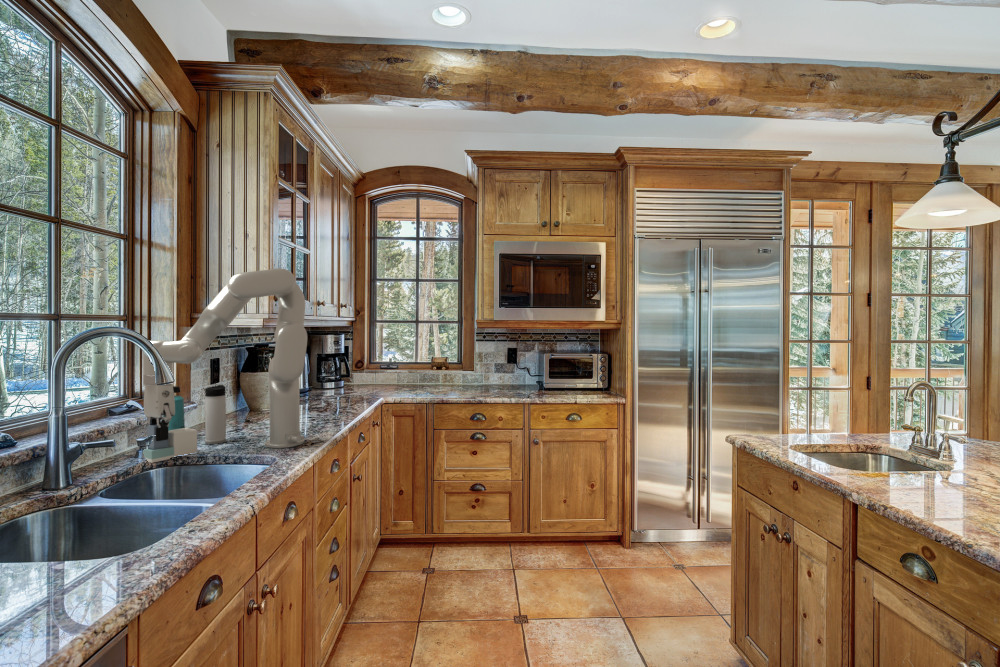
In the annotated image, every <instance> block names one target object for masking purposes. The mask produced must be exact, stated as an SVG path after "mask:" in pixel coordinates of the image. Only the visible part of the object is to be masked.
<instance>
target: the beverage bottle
mask: <svg viewBox="0 0 1000 667" xmlns="http://www.w3.org/2000/svg"><path fill="white" fill-rule="evenodd" d="M172 386H173V391H174V394H178V393H181V387H180V386H178V385H177V386H176V385H172ZM174 399H175V415H174V416H171V417H172V419H171V420H170V422H169V427H168V431H170V430H176V429H182V428H186V425H185V421H186V418H185V398H184V397H183V396H181V395H174ZM162 417H165V416H164V415H162ZM162 420H164V419H161V421H162Z"/></svg>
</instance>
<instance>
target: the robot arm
mask: <svg viewBox="0 0 1000 667" xmlns="http://www.w3.org/2000/svg"><path fill="white" fill-rule="evenodd" d="M270 296H275V297H276V299H277V301H278V310H277V311H278V312H277V319H276V320H277V321H276V326H275V331H274V336H273V337H274V340H275V345H274V346H275V347H274V354H273V357H272V358H271V359H270V361H269V364H268V382H269V383H268V386H269V439H268V440H267V441H264V446H265V447H266V448H269V449H286V448H293V447H297V446H301V445H303V444H304V443H305V439H306V438H305V435H302V431H301V429H300V426H301V425H300V423H301V422H300V420H301V419H300V417H301V415H300V413H301V412H300V410H301V409H300V407H301V406H300V403H301V402H300V399H301V398H300V395H301V394H300V380H299V379H300V377H301V375H302V374H303V371H304V366H305V361H306V354H307V347H308V333H307V332H308V331H307V330H306V328H305V327H304V326H305V325H304V324H305V317H306V316H305V314H306V299H305V295H304V293H303V290H302V289H301V287H300V286H299V284H297V282H296V276H294V274H293V272H292V271H290V270H288V269H286V268H281V267H280V268H278V267H277V268H271V269H270V268H269V269H262V270H255V271H246V272H245V271H244V272H239V273H236V274H233V275H232V276H231V278H230V279H229V281H227V283H226V284H225V285H224V286H223V288H222V289H221V290H220V291H219V292H218V293H217V294H216V295H215V297H214V298H213V299H212V300H211V301H210V302H209V303H208V305H207V306H206V307H205V308H204V310H203V311H202V312H201V315H200V316H199V318H198V319H197V321H196V322H195V323H194V324H193V326H191V328H190V329H189V330H188V331H187V333H186V334H185V335H184V336H183V337H182V338H181V339H179V340H174V341H173V340H171V341H170V340H167V339H166V340H165V339H164V340H159V339H158V340H155V339H154V340H153V339H151V340H149V341H150V342H151V343H152V344H153V346H154V347H155V348H156V349H157V350H158V351H159V353H160V354H161V356H162V357H163V359H164V361H165V362H166V363H167V365H168V366H169V368H170V370H171V372H172V374H173V375H174V364H184V365H185V364H193V363H196V361H197V360H198V359H199V358H200V357H201V356H202V354H203V353H204V352H205V350H206V349H208V347H209V346H210V345H211V344H212V342H213V341H214V340H215V339H216V338H217V337H218V336H219V335H220V334H221V332H223V331H224V330H225V329H227V327H229V325H230V324H231V323H232V322H233V320H234V319H235V318H236V317H237V316H238V315H239V313H241V311H243V309H244V308H245V307H246V306H247V304H248V303H249V302H250V301H251V300H252V299H254V298H256V299H257V298H262V297H270ZM142 386H143V387H144V391H143V392H144V393H143V414H144V415H145V417H146V418H147V426H148V425H155V424H157V428H156V441H163V440H168V427H169V422H170V420H171V419H172V417H171V416H174V415H175V399H174V396H175V393H174V391H173V386H174V385H173V384H166V385H157V384H156V383H155V371H154V367H153V365H152V364H151V362H150V361H149V359H148V357H147V356H146V355H145V354H144V352H143V351H142ZM163 415H164V416H165V417H163ZM162 419H164V420H162Z"/></svg>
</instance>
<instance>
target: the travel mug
mask: <svg viewBox="0 0 1000 667" xmlns="http://www.w3.org/2000/svg"><path fill="white" fill-rule="evenodd" d="M226 395H227V394H226V386H225V385H224V384H219V385H218V384H217V385H215V386H208V387H206V388H205V389H204V422H205V424H204V430H205V434H204V437H205V438H204V439H205V440H204V441H205V442H204V443H206V444H205V445H207V444H217V445H219V444H218V443H222V444H224V443H223V442H225V443H226V442H227V413H226V412H227V411H226V410H227V408H226V407H227V406H226V405H227V402H226V398H227V396H226Z"/></svg>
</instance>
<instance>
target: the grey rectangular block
mask: <svg viewBox="0 0 1000 667" xmlns="http://www.w3.org/2000/svg"><path fill="white" fill-rule="evenodd" d="M156 428H157V424H155V425H148V424H147V438H148V437H149V436H152V435H156ZM152 440H153V441H152V443H151V444H150V446H149V447H148V446H147V447H148V449H150V450H158V449H163V448H168V440H163V441H156V436H153V438H152Z"/></svg>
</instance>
